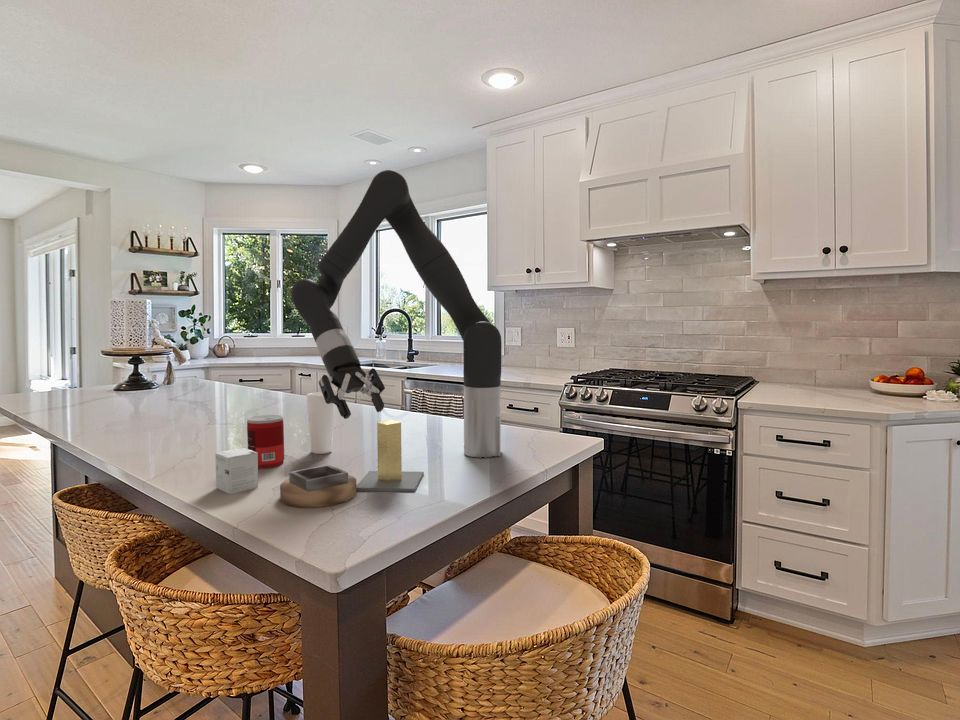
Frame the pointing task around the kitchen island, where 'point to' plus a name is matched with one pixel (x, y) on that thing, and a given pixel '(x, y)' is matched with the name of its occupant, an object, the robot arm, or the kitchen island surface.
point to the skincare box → (236, 470)
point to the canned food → (266, 439)
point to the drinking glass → (320, 423)
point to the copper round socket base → (317, 487)
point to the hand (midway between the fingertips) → (364, 413)
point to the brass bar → (389, 451)
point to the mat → (406, 484)
